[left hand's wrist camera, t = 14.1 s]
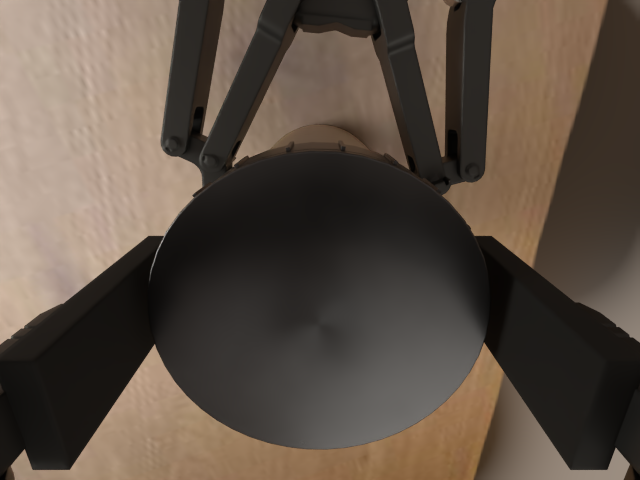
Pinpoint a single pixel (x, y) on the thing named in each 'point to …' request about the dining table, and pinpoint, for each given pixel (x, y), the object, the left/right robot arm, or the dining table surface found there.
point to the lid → (319, 297)
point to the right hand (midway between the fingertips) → (312, 289)
